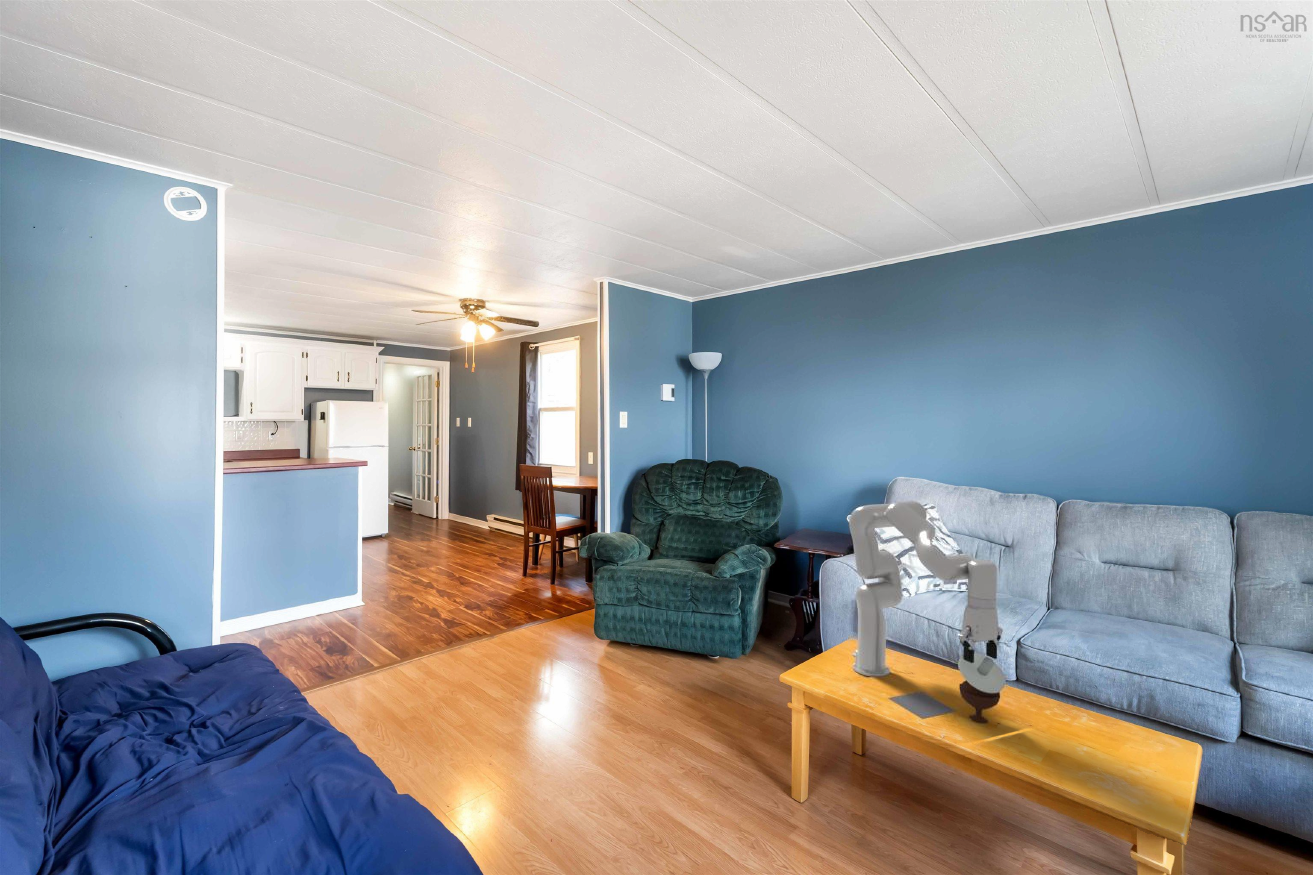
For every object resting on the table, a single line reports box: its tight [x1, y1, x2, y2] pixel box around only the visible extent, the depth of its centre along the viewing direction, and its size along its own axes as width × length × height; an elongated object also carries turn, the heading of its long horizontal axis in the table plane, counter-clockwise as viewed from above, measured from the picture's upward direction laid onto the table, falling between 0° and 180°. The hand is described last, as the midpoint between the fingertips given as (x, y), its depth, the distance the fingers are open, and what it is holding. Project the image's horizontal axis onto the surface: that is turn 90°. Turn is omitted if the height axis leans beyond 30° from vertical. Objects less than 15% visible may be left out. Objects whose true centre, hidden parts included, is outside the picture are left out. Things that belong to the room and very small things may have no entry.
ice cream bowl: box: [958, 680, 1001, 725], centre depth 174 cm, size 11×11×15 cm
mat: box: [887, 691, 957, 720], centre depth 182 cm, size 14×14×1 cm
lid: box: [957, 652, 1007, 693], centre depth 171 cm, size 13×13×6 cm
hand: (980, 659), depth 173 cm, fingers open, 9 cm apart
